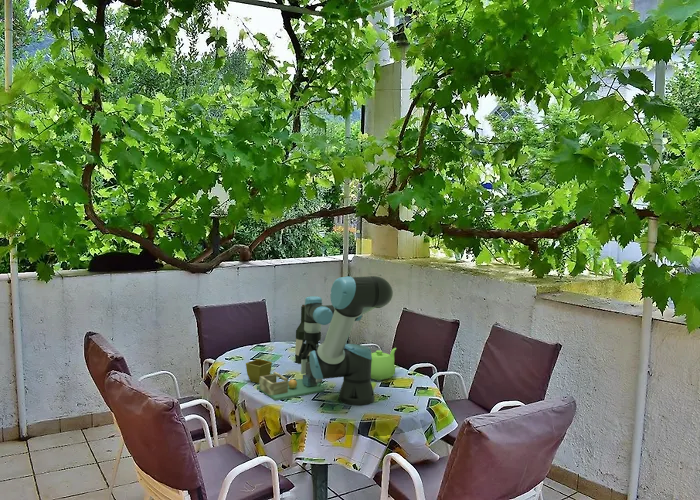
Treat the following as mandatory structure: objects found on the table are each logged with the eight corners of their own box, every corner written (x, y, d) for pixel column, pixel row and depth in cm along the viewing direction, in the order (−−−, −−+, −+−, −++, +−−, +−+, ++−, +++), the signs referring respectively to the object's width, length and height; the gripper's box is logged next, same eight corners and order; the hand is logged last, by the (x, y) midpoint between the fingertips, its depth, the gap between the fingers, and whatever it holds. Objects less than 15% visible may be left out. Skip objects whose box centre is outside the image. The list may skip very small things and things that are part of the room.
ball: (298, 388, 261) (298, 380, 261) (290, 390, 259) (290, 381, 258) (294, 386, 264) (294, 377, 264) (286, 387, 262) (286, 378, 262)
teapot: (384, 369, 299) (385, 344, 298) (406, 376, 288) (407, 350, 287) (352, 377, 284) (353, 350, 283) (375, 385, 273) (376, 357, 272)
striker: (317, 385, 266) (318, 363, 265) (307, 387, 263) (308, 365, 262) (312, 382, 270) (312, 360, 269) (302, 384, 267) (302, 362, 266)
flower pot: (259, 385, 267) (259, 366, 266) (245, 382, 272) (245, 362, 271) (272, 380, 275) (272, 361, 274) (257, 377, 279) (258, 358, 278)
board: (324, 391, 261) (324, 389, 261) (275, 400, 248) (275, 398, 248) (304, 380, 276) (304, 378, 276) (256, 388, 263) (256, 386, 263)
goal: (287, 393, 256) (288, 378, 255) (271, 396, 251) (271, 381, 251) (275, 385, 266) (275, 371, 265) (259, 388, 261) (259, 374, 261)
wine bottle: (314, 361, 309) (315, 304, 306) (304, 365, 302) (306, 307, 299) (301, 358, 313) (302, 302, 311) (291, 362, 306) (293, 305, 304)
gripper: (334, 336, 256) (333, 384, 258) (306, 324, 277) (305, 369, 279) (319, 338, 252) (318, 386, 254) (292, 326, 273) (290, 371, 275)
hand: (311, 377), depth 267 cm, fingers open, 13 cm apart
